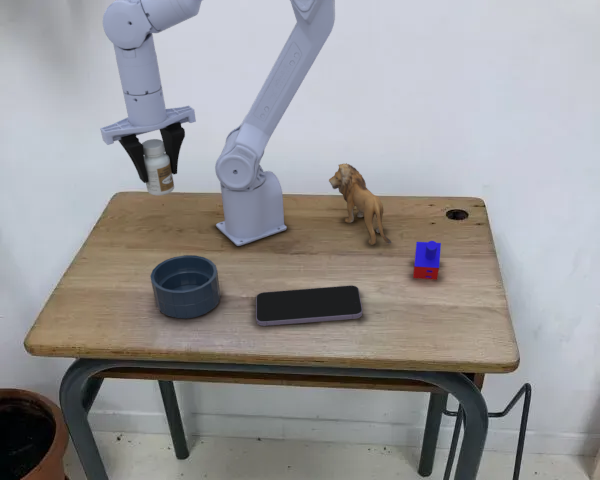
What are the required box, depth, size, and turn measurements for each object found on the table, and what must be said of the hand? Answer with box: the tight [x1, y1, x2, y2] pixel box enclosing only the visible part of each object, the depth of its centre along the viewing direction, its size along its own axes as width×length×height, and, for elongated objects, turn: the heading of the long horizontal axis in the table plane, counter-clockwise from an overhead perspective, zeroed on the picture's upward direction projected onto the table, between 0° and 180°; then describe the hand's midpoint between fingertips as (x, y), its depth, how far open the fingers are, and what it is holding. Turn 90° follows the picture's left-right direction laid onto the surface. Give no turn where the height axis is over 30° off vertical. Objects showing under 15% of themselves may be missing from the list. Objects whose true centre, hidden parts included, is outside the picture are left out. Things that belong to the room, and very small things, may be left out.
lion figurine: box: [328, 162, 392, 246], centre depth 112 cm, size 15×5×9 cm, turn 33°
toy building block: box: [412, 240, 442, 281], centre depth 102 cm, size 4×4×8 cm
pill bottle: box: [141, 138, 175, 196], centre depth 110 cm, size 4×4×8 cm
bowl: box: [149, 254, 222, 319], centre depth 100 cm, size 9×9×5 cm
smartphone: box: [255, 284, 363, 327], centre depth 99 cm, size 7×1×15 cm
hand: (158, 176), depth 111 cm, fingers closed on pill bottle, 4 cm apart
